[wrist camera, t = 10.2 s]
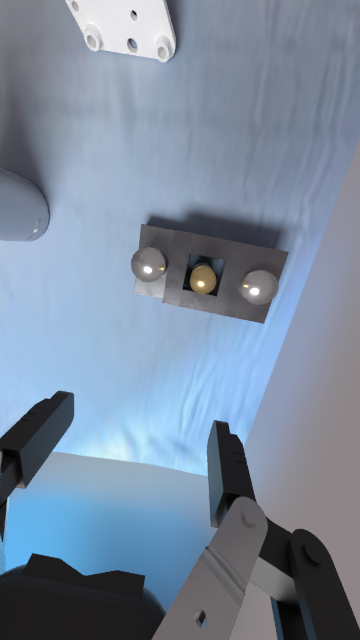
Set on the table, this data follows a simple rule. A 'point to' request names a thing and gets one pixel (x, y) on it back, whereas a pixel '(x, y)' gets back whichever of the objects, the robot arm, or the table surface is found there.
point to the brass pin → (202, 278)
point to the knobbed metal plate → (233, 278)
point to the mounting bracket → (126, 26)
